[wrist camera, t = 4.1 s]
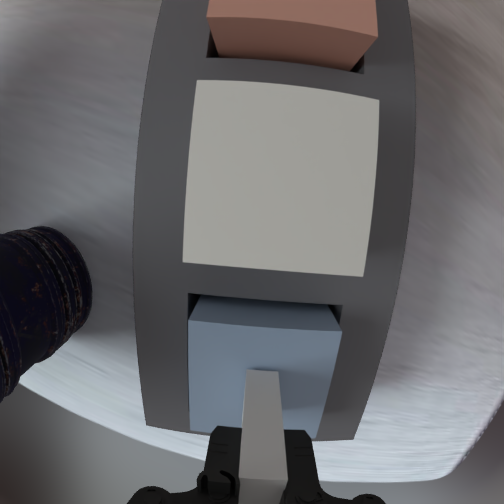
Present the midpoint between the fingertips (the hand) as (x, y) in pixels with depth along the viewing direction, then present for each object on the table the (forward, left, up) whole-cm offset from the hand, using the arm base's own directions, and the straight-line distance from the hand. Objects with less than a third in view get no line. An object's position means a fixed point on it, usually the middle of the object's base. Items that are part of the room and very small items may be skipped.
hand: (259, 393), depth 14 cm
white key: (0, +10, -4) cm, 11 cm away
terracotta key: (0, +20, -4) cm, 20 cm away
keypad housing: (0, +10, -8) cm, 13 cm away
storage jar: (-18, +1, -9) cm, 20 cm away
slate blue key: (0, 0, -5) cm, 5 cm away
